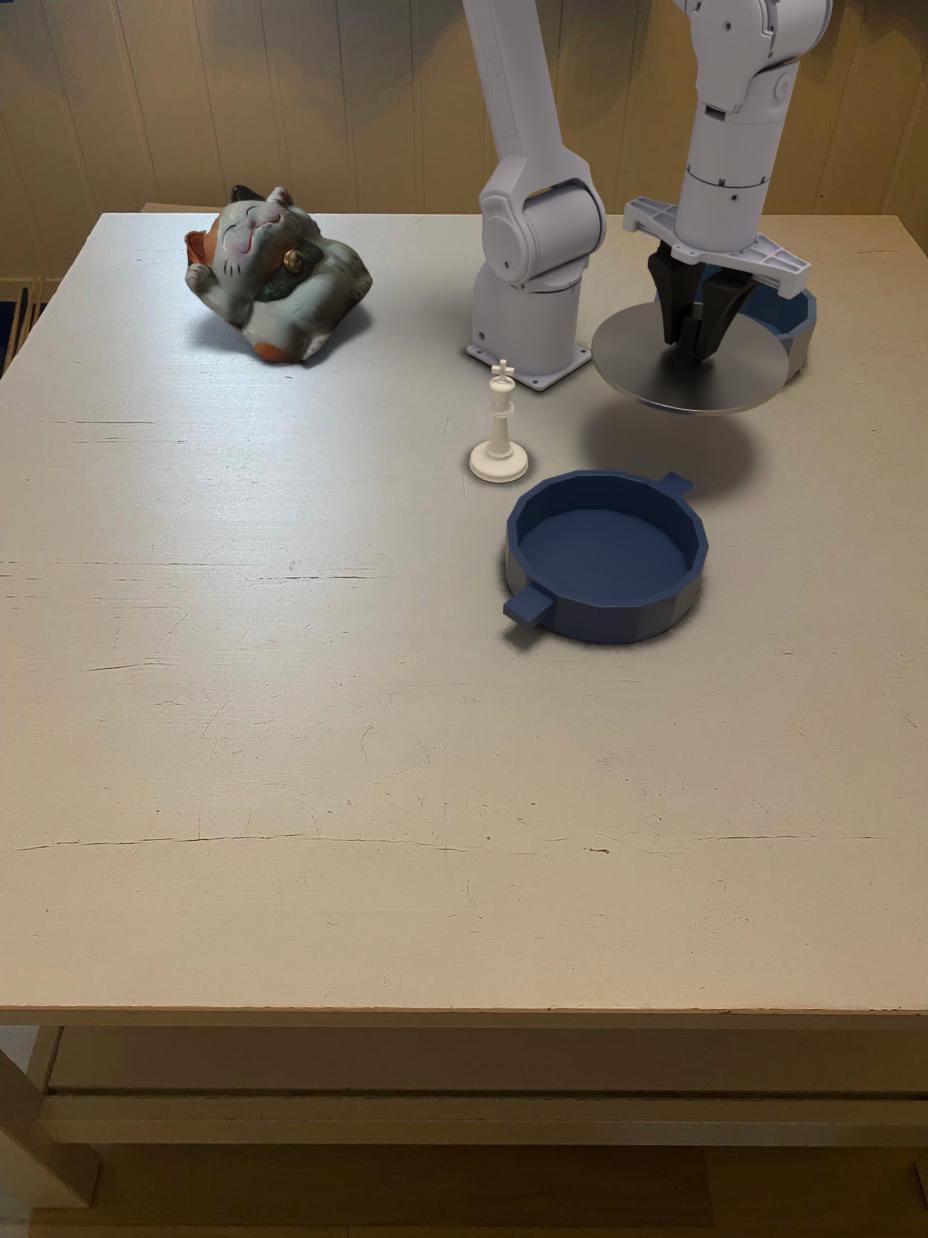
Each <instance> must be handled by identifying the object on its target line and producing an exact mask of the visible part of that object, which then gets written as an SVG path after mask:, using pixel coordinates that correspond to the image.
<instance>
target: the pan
mask: <svg viewBox="0 0 928 1238" xmlns="http://www.w3.org/2000/svg"><path fill="white" fill-rule="evenodd" d="M696 486H697V484H696V483H694V482H692V481H691V480H688V479H687V478H685V477H683V476H682V475H680V474H677V473H676V472H674V471H672V470H670V471H669V472H668V473H666V474H665V475H664V476H663V477H662V478H660V479H659V480H657V481H655V480H653V479H651V478H649V477H646V476H643V475H637V474H634V473H629V472H625V471H621V470H618V469H575V470H573V471H570V472H566V473H562V474H558V475H555V476H552V477H548V478H544V479H543V480H541V481H540V482H539V483H537V484H536V485H534V486H533V487H531V488H530V489H528V490H527V491H526V492H524V493H523V494H522V495H520V496H519V497H518V499H517V501H516V503H515V504H514V506H513V507H512V508H513V509H512V510H511V512H510V514H509V516H508V518H507V521H506V524H505V525H506V527H505V544H504V563H505V578H506V583H507V586H508V588H509V591H510V592H511V594H512V597H510V598H509V599H508V600H507V601H505V602H504V603H503V604H502V605H503V606H502V614H503V615H504V616H506V617H507V618H509V619H510V620H511V621H513V622H514V623H515V624H517V625H519V626H520V627H521V628H523V629H524V630H525V631H527V632H529V631H531V630H532V629H533V628H535V626H538V624H540V625H542V626H544V627H546V628H548V629H549V630H551V631H554V632H556V633H558V634H559V635H561V636H562V635H563V636H565V637H568V638H571V639H575V640H578V641H583V642H588V643H595V644H608V645H609V644H611V645H615V644H627V643H634V642H639V641H643V640H647V639H649V638H652V637H655V636H657V635H659V634H661V633H663V632H665V631H667V630H668V629H670V628H672V627H673V626H674V625H675V624H677V623H678V622H679V621H680V620H681V619H682V618H683V617H684V616H685V615H686V614H687V613H688V612H689V610H690V608H691V607H692V606H693V603H694V601H695V597H696V594H697V592H698V591H697V590H698V587H699V584H700V581H701V578H702V573H703V571H704V567H705V563H706V559H707V556H708V553H709V548H710V545H709V541H708V536H707V534H706V530H705V526H704V523H703V519H702V518H701V517H700V516H699V515H698V514H697V513H696V511H695V510H694V509H693V508H692V507H691V506H690V505H689V504H688V502H687V500H688V499H689V498H691V496H693V495H694V493H695V490H696Z"/></svg>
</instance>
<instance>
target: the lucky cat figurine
mask: <svg viewBox="0 0 928 1238" xmlns="http://www.w3.org/2000/svg"><path fill="white" fill-rule="evenodd" d="M230 192H231V193H230V197H229V198H228V203H227V205H226V206H224V207H223V208H222V209H221V211H220V212H219V213H218V215H217V217H216V218H215V219H214V221H213V223H212V224H211V227H210V229H209V231H208V232H207V229H204V230H200V231H197V230H191V231H189V232H187V233H186V234H185V235H184V239H183V240H184V241H183V242H184V243H185V245H186V257H187V268H186V272H185V275H184V282H185V284H186V286H187V287H188V289H189V290H190V292H192V293H193V294H194V295H195V296H196V297H197V298H198V299H199V300H200V301H201V303H202V304H203V305H204V306H206V307H207V308H208V309H209V310H211V311H213V312H214V313H215V314H216V315H217V316H218V317H219V318H220V319H222V320H223V321H224V322H225V323H227V324H228V325H229V326H231V327H232V328H234V329H235V330H236V331H237V332H238V333H239V334H241V336H243V337H244V339H246V341H248V342H249V343H250V344H251V346H252V348H253V350H254V352H255V353H256V354H257V355H259V356H260V357H261V358H263V359H264V360H266V361H269V362H276V363H277V362H278V363H292V364H293V363H294V364H295V363H296V364H298V363H300V362H301V360H303V361H305V360H307V359H308V358H309V357H310V356H312V355H313V354H315V353H317V351H319V350H320V349H321V348H322V347H324V345H325V343H327V341H328V340H329V338H330V336H331V335H332V333H333V332H334V331H335V330H336V329H337V328H338V326H339V325H340V324H341V323H342V322H343V321H344V319H345V318H346V317H348V315H350V313H351V312H352V311H353V310H355V308H356V307H357V306H358V305H359V304H360V303H361V302H362V301H363V300H364V299H365V298H366V297H367V294H368V293H369V292H370V290H371V288H372V286H373V284H374V279H373V277H372V275H371V273H370V271H369V269H368V268H367V266H366V265H365V263H364V261H363V260H362V258H361V256H360V255H359V253H358V252H357V251H356V250H355V249H354V248H353V247H351V245H348V244H346V243H345V242H342V241H339V240H336V239H332V238H327V237H324V236H323V235H322V233H321V232H322V231H321V229H320V227H319V225H318V223H317V220H315V219H313V218H312V217H311V215H310V214H309V213H308V212H307V211H305V210H304V209H303V208H301V207H300V206H298V205H296V204H295V202H294V200H293V198H292V195H291V194H290V193H289V191H288V190H287V189H286V188H285V187H282V186H276V187H275V188H274V190H273V191H272V192H271V193H270V194H269V195H268V197H267V198H266V197H264V196H263V195H261V194H258V193H257V192H256V191H253V189H251V188H250V187H247V186H246V185H243V184H236V185H234V186H232V187H231V191H230Z"/></svg>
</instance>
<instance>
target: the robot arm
mask: <svg viewBox="0 0 928 1238" xmlns="http://www.w3.org/2000/svg"><path fill="white" fill-rule="evenodd" d="M671 1H672V2H673V4H674V5H675V6H676V7H677V8H678V9H679V10H680V11H681V13H683V14H684V15H685V16H686V17H687V19H688V20H689V22H690V38H691V44H692V48H693V51H694V54H695V57H696V62H697V75H696V81H695V86H694V89H695V90H697V101H696V102H697V103H696V109H695V114H694V119H693V125H692V130H691V136H690V142H689V145H688V146H689V147H688V152H687V158H686V163H685V168H684V174H683V178H682V184H681V189H680V196H679V201H678V204H675V203H668V202H664V201H659V200H655V199H651V198H649V197H646V196H644V195H640V196H638V197H636V198H634V199H632V200H630V201H629V202H628V201H627V202H626V203H625V204H624V210H623V217H622V224H621V225H622V226H621V229H622V230H624V231H626V232H628V233H637V232H638V231H639V232H642V233H643V234H645V235H648V236H650V237H653V238H655V239H658V240H659V246H657V249H656V251H655V252H653V253H651V254H650V255H648V258H647V267H646V268H647V270H648V272H649V273H650V276H651V278H652V280H653V283H654V286H655V288H656V289H655V290H657V292H658V295H659V300H660V304H661V311H662V318H663V329H664V342H665V343H667V344H669V345H672V344H673V343H675V342H676V338H677V333H678V328H679V323H680V318H681V313H682V309H683V308H684V307H685V306H686V305H689V304H694V301H695V296H696V292H697V289H698V286H699V283H700V280H701V277H702V274H703V271H704V268H705V266H706V263H709V264H714V265H718V266H722V269H721V271H720V272H717V273H715V274H713V275H712V276H710V277H709V278H707V279H706V280H704V281H703V282H702V294H703V314H702V323H701V328H700V332H699V336H698V341H697V345H696V358H698V359H700V360H705V359H707V358H708V357H709V356H711V355H712V354H714V353H715V352H716V351H717V350H718V348H719V345H720V343H721V341H722V339H723V337H724V335H725V333H726V331H727V329H728V328H729V326H730V324H731V322H732V321H733V319H734V318H735V316H736V315H737V313H738V312H739V310H740V309H741V307H742V306H743V305H744V303H745V302H746V301H747V300H748V298H749V297H750V296H751V295H752V294H753V292H754V291H755V290H756V289H757V288H758V287H759V285H760V284H761V283H764V284H766V285H769V286H771V287H774V288H776V289H778V295H779V296H781V297H784V298H786V299H789V300H790V299H791V298H793V297H794V296H796V295H797V294H799V293H800V292H801V291H803V290H804V289H805V288H806V285H807V282H808V278H809V275H810V271H811V269H812V265H813V264H812V263H811V262H808V261H806V260H804V259H801V258H800V257H798V256H796V255H794V254H793V253H791V252H790V251H788V250H787V249H785V248H784V247H782V246H781V245H779V244H778V243H777V242H775V241H774V240H773V239H771V238H769V237H768V236H767V235H765V234H764V233H762V232H761V231H759V226H760V223H761V217H762V214H763V211H764V205H765V202H766V198H767V194H768V191H769V186H770V181H771V178H772V174H773V171H774V166H775V162H776V159H777V154H778V150H779V147H780V141H781V138H782V134H783V130H784V127H785V122H786V118H787V114H788V110H789V107H790V102H791V99H792V95H793V91H794V86H795V82H796V80H797V75H798V71H799V67H800V63H801V60H800V59H798V58H800V57H801V56H803V55H805V54H807V53H808V52H810V51H811V50H812V49H813V48H814V47H815V46H816V45H817V44H818V43H819V42H820V40H821V39H822V38H823V36H824V34H825V32H826V31H827V28H828V26H829V24H830V19H831V16H832V11H833V0H671ZM461 2H462V5H463V10H464V14H465V19H466V23H467V28H468V31H469V32H468V33H469V36H470V37H469V38H470V41H471V46H472V49H473V54H474V59H475V62H476V63H475V64H476V68H477V71H478V72H477V73H478V77H479V81H480V86H481V90H482V94H483V98H484V104H485V108H486V112H487V116H488V120H489V125H490V129H491V133H492V138H493V143H494V148H495V153H496V157H497V161H498V162H497V164H496V167H495V168H494V171H493V173H492V174H491V176H490V177H489V179H488V180H487V183H486V184H485V185H484V187H483V188H482V190H481V192H480V193H479V195H478V203H479V207H480V212H481V218H482V219H481V220H482V228H481V245H482V251H483V255H484V257H485V261H484V262H483V263H482V265H481V266H480V268H479V270H478V272H477V274H476V277H475V282H474V285H473V291H472V338H471V339H472V343H471V344H469V345H468V346H466V353H467V354H468V355H470V356H472V357H474V358H476V359H478V360H480V361H481V362H483V363H485V364H487V365H489V366H490V367H492V366H500V361H501V359H502V360H506V367H509V368H514V374H513V376H510V378H512V379H515V380H517V382H519V383H522V384H524V385H526V386H528V387H530V388H531V389H533V390H535V391H538V392H541V391H544V390H546V389H547V388H549V387H551V385H553V384H555V383H556V382H558V381H560V380H561V379H563V378H564V377H565V376H567V375H569V374H570V373H572V372H573V371H574V370H576V369H577V368H579V367H581V366H582V365H584V364H585V363H587V362H588V361H591V360H592V358H591V350H589V349H586V348H585V347H582V346H581V345H579V344H576V337H577V328H578V318H579V307H580V300H581V299H580V298H581V289H582V281H583V274H584V271H585V270H586V269H588V268H589V265H590V258H591V257H590V256H591V255H592V254H594V253H596V252H597V251H598V250H600V248H601V247H602V246H603V244H604V242H605V239H606V236H607V231H608V218H607V212H606V208H605V206H604V202H603V200H602V199H601V196H600V195H599V193H598V191H597V189H596V188H595V187H596V186H595V185H594V182H593V179H592V175H591V169H590V164H589V163H588V162H587V161H586V160H585V159H584V158H582V157H581V156H580V155H578V154H577V153H575V152H573V151H572V150H570V149H569V148H567V147H566V146H565V145H564V144H563V139H562V134H561V128H560V123H559V119H558V114H557V109H556V103H555V97H554V92H553V87H552V82H551V78H550V72H549V67H548V66H549V65H548V62H547V57H546V51H545V47H544V42H543V41H544V40H543V36H542V31H541V26H540V21H539V15H538V11H537V6H536V5H537V4H536V0H461ZM547 188H550V189H548V190H546V191H542V190H545V189H547ZM539 191H540V192H541V191H542V192H541V193H538V194H535V193H537V192H539ZM532 194H535V195H532ZM531 195H532V196H531ZM529 196H530V197H529Z"/></svg>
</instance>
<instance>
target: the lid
mask: <svg viewBox="0 0 928 1238" xmlns="http://www.w3.org/2000/svg"><path fill="white" fill-rule="evenodd" d="M702 314H703V303H699V302H694V304H689V305H686V306H685V307H684V308H683V309H682V313H681V318H680V323H679V328H678V333H677V338H676V342H675V343H673V344H672V345H669V344H667V343H665V342H664V329H663V318H662V311H661V304H660V301H657V302H654V301H650V302H644V303H639V304H636V305H632V306H629V307H626V308H624V309H621V310H619V311H617V312H616V313H613V314H611V315H610V316H608V317H607V318H606V319H604V321H602V322H601V324H600V325H599V326H598V327H597V328H596V330H595V331H594V334H593V336H592V338H591V345H590V352H591V361H592V364H593V366H594V368H595V370H596V372H597V373H598V375H599V376H600V377H601V379H602V380H603V381H605V383H606V384H608V385H609V387H611V388H612V389H613V390H615V391H616V392H618V393H619V394H621V395H622V396H624V397H626V398H628V399H630V400H631V401H634V402H636V403H638V404H640V405H642V406H646V407H648V408H650V409H654V410H658V411H661V412H666V413H670V414H676V415H682V416H690V417H721V416H722V417H723V416H728V415H729V416H730V415H735V414H740V413H743V412H747V411H750V410H753V409H756V408H758V407H760V406H762V405H764V404H766V403H768V402H769V401H770V400H772V399H773V398H774V397H776V395H777V394H779V392H780V391H782V389H783V387H784V386H785V384H786V383H785V381H786V379H787V376H788V371H789V359H788V356H787V353H786V351H785V349H784V347H783V345H782V344H781V342H780V341H779V340H778V339H777V338H776V337H775V336H774V335H773V334H772V333H771V332H770V331H769V330H768V329H766V328H765V327H764V326H762V325H761V324H759V323H757V322H756V321H754V320H752V319H750V318H748V317H746V316H744V315H742V314H740V313H737V315H736V316H735V318H734V319H733V321H732V322H731V324H730V326H729V328H728V329H727V331H726V333H725V335H724V337H723V339H722V341H721V343H720V345H719V348H718V350H717V351H716V352H715V353H714V354H712V355H711V356H709V357H708V358H707V359H705V360H700V359H698V358H696V345H697V341H698V336H699V332H700V328H701V323H702Z"/></svg>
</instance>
